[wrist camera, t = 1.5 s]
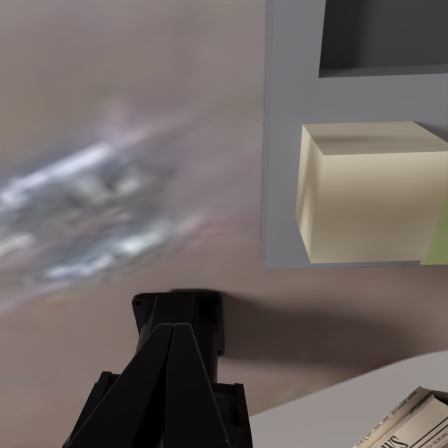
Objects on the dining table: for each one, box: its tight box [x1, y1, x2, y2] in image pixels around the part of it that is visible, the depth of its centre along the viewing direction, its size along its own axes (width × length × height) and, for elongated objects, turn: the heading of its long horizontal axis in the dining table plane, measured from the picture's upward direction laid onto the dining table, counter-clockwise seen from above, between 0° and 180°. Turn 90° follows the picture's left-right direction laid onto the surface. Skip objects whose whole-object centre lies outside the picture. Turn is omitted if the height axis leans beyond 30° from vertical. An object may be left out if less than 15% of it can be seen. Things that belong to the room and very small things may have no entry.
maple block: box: [295, 121, 448, 264], centre depth 16 cm, size 5×5×4 cm
